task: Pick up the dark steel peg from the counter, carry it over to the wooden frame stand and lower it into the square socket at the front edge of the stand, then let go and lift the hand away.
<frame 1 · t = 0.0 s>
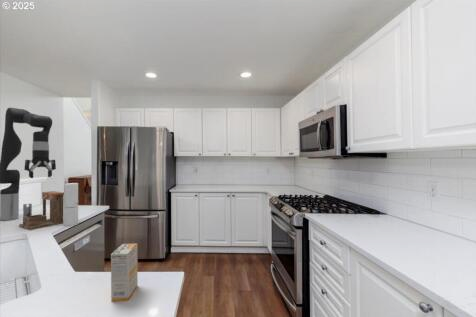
hand: (40, 177, 141), 29 cm above the countertop, tool pointing down, fingers open, 8 cm apart
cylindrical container: (71, 224, 148), on the countertop
wooden frame stand: (34, 226, 144), on the countertop
supplement box: (124, 293, 70), on the countertop
steel peg: (27, 223, 151), on the countertop
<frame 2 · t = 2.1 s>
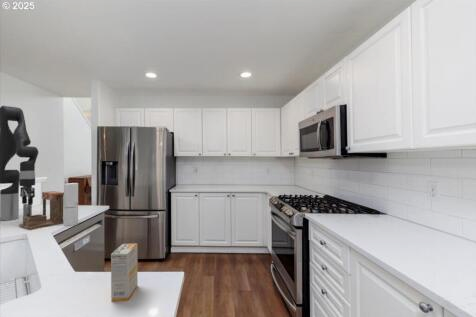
hand: (27, 204, 151), 12 cm above the countertop, tool pointing down, fingers open, 8 cm apart
nothing on the countertop moved.
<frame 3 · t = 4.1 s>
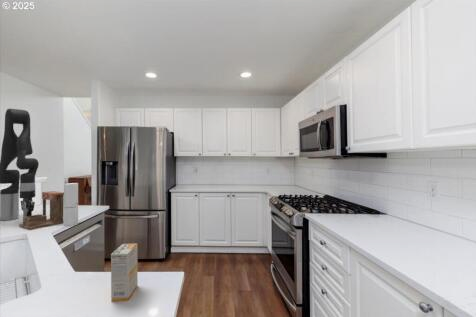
hand: (27, 217, 151), 4 cm above the countertop, tool pointing down, fingers closed on steel peg, 4 cm apart
steel peg: (27, 223, 151), on the countertop, touching gripper
everything else where it was.
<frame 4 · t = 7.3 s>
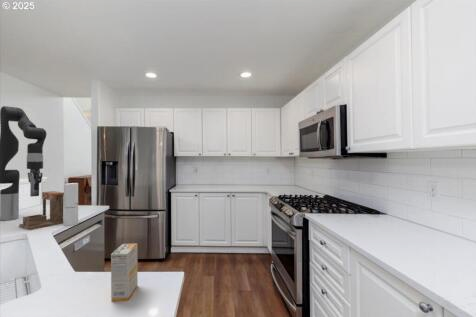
hand: (34, 189, 144), 22 cm above the countertop, tool pointing down, fingers closed on steel peg, 4 cm apart
steel peg: (34, 195, 144), point 18 cm above the countertop, touching gripper
everything else where it was.
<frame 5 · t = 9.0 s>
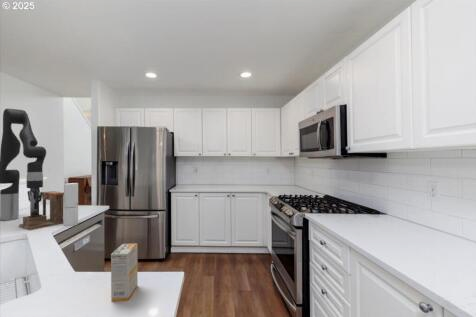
hand: (34, 208, 144), 11 cm above the countertop, tool pointing down, fingers closed on steel peg, 4 cm apart
steel peg: (34, 214, 144), point 7 cm above the countertop, touching gripper
everything else where it was.
when the fingers open (7 cm above the countertop, at t = 10.6 s): steel peg drops 2 cm, resting on wooden frame stand.
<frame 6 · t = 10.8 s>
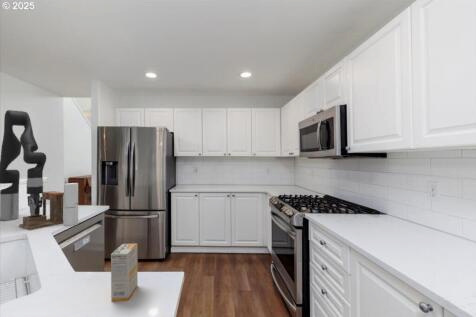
hand: (34, 213, 144), 7 cm above the countertop, tool pointing down, fingers open, 5 cm apart
steel peg: (34, 223, 144), point 2 cm above the countertop, touching wooden frame stand
everything else where it was.
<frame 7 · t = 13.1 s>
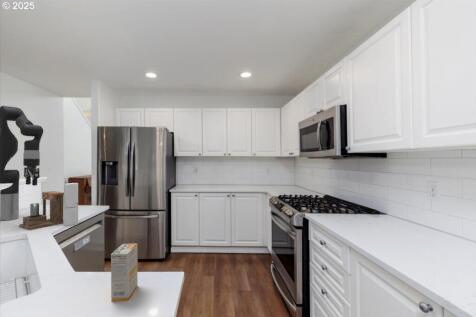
hand: (31, 185, 145), 25 cm above the countertop, tool pointing down, fingers open, 8 cm apart
nothing on the countertop moved.
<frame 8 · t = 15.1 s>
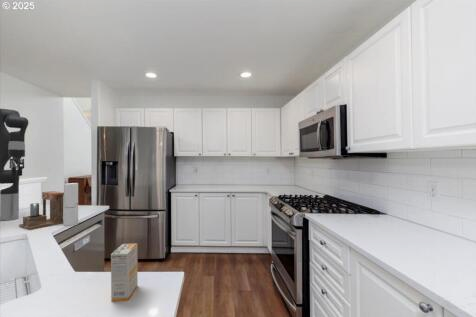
hand: (16, 175, 148), 30 cm above the countertop, tool pointing down, fingers open, 8 cm apart
nothing on the countertop moved.
at the end: steel peg 0.2 cm off-centre on the wooden frame stand, point 1.5 cm above the wooden frame stand's base; steel peg tilted 0°; the gripper is holding nothing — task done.
